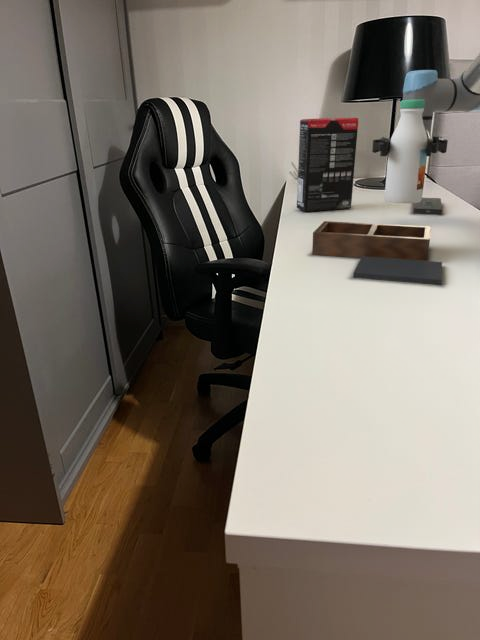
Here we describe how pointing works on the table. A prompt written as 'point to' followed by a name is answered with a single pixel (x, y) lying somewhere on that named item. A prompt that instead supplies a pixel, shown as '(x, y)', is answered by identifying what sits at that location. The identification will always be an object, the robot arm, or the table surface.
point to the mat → (399, 270)
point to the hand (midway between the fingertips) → (406, 149)
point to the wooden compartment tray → (371, 240)
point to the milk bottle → (407, 156)
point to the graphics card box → (326, 163)
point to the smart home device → (428, 206)
